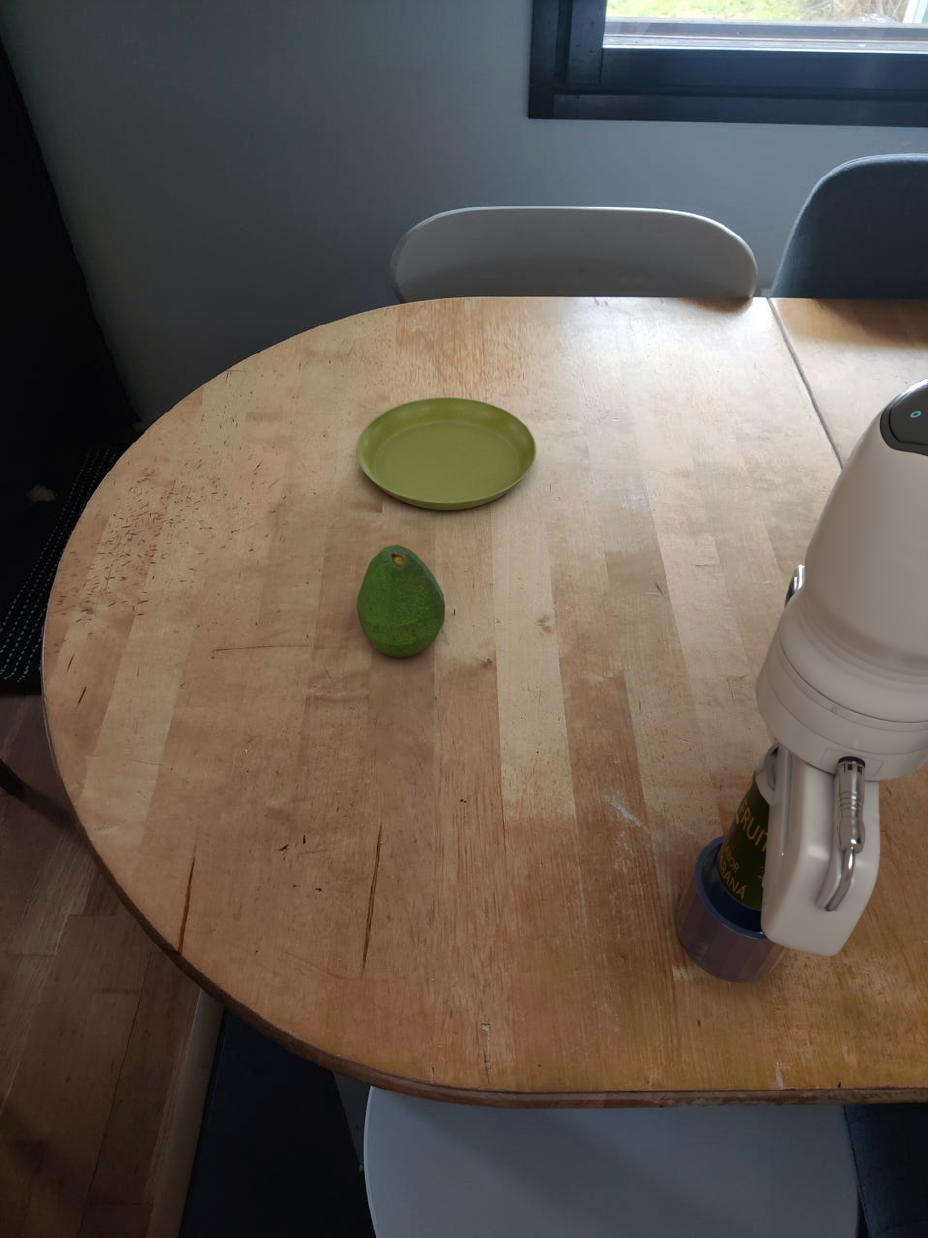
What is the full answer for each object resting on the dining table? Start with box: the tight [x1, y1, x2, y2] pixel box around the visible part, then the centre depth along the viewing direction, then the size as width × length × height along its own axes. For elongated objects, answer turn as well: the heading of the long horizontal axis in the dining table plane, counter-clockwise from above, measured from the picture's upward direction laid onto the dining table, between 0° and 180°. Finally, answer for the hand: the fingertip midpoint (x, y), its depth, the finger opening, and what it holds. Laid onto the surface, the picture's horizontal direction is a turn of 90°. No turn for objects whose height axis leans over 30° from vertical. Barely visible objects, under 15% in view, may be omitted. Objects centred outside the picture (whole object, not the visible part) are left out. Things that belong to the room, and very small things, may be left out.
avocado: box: [356, 544, 446, 659], centre depth 77 cm, size 8×8×12 cm
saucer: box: [355, 396, 537, 511], centre depth 100 cm, size 21×21×3 cm
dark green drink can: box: [717, 742, 779, 911], centre depth 52 cm, size 5×5×12 cm
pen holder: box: [675, 833, 789, 983], centre depth 59 cm, size 8×8×7 cm
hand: (779, 832), depth 52 cm, fingers closed on dark green drink can, 5 cm apart
